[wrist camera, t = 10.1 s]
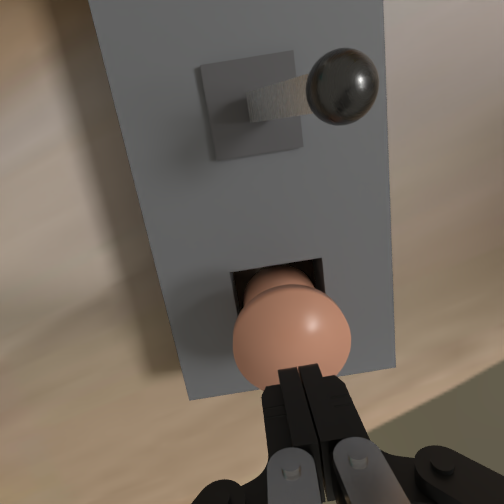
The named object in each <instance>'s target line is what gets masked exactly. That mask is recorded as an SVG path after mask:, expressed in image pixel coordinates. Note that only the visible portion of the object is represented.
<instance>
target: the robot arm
mask: <svg viewBox="0 0 504 504" xmlns="http://www.w3.org/2000/svg"><path fill="white" fill-rule="evenodd" d="M278 377H279V383H280V384H277V385H271V386H266V387H265V390H264V392H263V394H262V397H261V398H262V406H263V414H264V423H265V431H266V439H267V447H268V463H267V465H266V467H265V469H264V471H263V472H262V473H261V474H260V475H259V476H258V477H257V478H255V479H254V480H252V481H250V482H248V483H246V484H244V485H242V486H240V485H239V484H238V483H236V482H234V481H232V480H225V479H224V480H218V481H215V482H212V483H211V484H209V485H207V486H206V487H205V488H204V489H203V490H202V491H201V492H200V494H199V495H198V496H197V497H196V498H195V500H194V501H193V502H192V503H191V504H322V503H323V502H325V494H324V490H325V493H326V497H327V501H334V500H336V503H337V504H504V476H502V475H501V474H498V473H497V472H495V471H492V470H491V469H489V468H487V467H485V466H483V465H481V464H479V463H477V462H475V461H473V460H471V459H469V458H467V457H465V456H463V455H462V454H459V453H458V452H456V451H454V450H452V449H449V448H446V447H442V446H427V447H424V448H422V449H420V450H419V451H418V452H417V454H416V455H415V458H409V457H401V456H394V455H391V454H388V453H385V452H383V451H382V450H380V449H379V448H378V447H377V445H376V444H374V443H373V442H371V440H370V439H369V437H368V435H367V432H366V430H365V428H364V426H363V423H362V421H361V419H360V417H359V415H358V412H357V410H356V408H355V406H354V404H353V401H352V399H351V397H350V395H349V392H348V390H347V388H346V386H345V383H344V382H342V381H341V380H340V379H339V378H338V377H337V376H335V375H331V376H325V377H323V376H322V373H321V371H320V368H319V365H318V363H315V364H309V365H303V366H298V369H297V367H291V368H285V369H279V370H278Z"/></svg>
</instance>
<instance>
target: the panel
mask: <svg viewBox="0 0 504 504" xmlns="http://www.w3.org/2000/svg"><path fill="white" fill-rule="evenodd" d="M88 2H89V6H90V10H91V14H92V18H93V22H94V26H95V30H96V33H97V37H98V41H99V45H100V49H101V53H102V57H103V61H104V65H105V69H106V73H107V77H108V81H109V85H110V89H111V93H112V97H113V101H114V105H115V109H116V112H117V116H118V120H119V124H120V128H121V132H122V136H123V140H124V144H125V148H126V152H127V156H128V160H129V164H130V168H131V172H132V176H133V180H134V184H135V188H136V191H137V195H138V199H139V203H140V207H141V211H142V215H143V219H144V223H145V227H146V231H147V235H148V239H149V243H150V247H151V251H152V255H153V259H154V263H155V267H156V270H157V274H158V278H159V282H160V286H161V290H162V294H163V298H164V302H165V306H166V310H167V314H168V318H169V322H170V326H171V330H172V334H173V338H174V342H175V346H176V349H177V353H178V357H179V361H180V365H181V369H182V373H183V377H184V381H185V385H186V389H187V393H188V397H189V401H190V400H196V399H202V398H208V397H215V396H221V395H227V394H233V393H239V392H246V391H252V390H258V389H259V388H257V387H256V386H254V385H253V384H251V383H250V382H249V381H248V380H247V379H246V378H245V377H244V376H243V375H242V373H241V372H240V370H239V369H238V367H237V365H236V362H235V359H234V354H233V330H234V325H235V322H236V319H237V317H238V315H239V313H240V308H239V302H238V297H237V291H236V286H235V280H234V275H233V272H235V271H241V270H248V269H254V268H260V267H266V266H272V265H279V264H285V263H291V262H297V261H303V260H310V259H313V268H314V277H315V287H316V289H318V290H320V291H322V292H323V293H325V294H327V295H328V296H329V297H330V298H332V300H333V301H334V302H335V303H336V304H337V305H338V307H339V308H340V310H341V312H342V313H343V315H344V317H345V319H346V321H347V323H348V325H349V328H350V333H351V348H350V352H349V356H348V358H347V361H346V363H345V364H344V366H343V368H342V369H341V370H340V372H339V373H338V374H337V375H336V376H337V377H339V376H345V375H351V374H357V373H364V372H370V371H376V370H382V369H389V368H395V367H396V359H395V330H394V301H393V272H392V243H391V214H390V185H389V156H388V127H387V99H386V70H385V41H384V12H383V0H88ZM338 48H353V49H357V50H359V51H361V52H363V53H365V54H366V55H367V56H368V57H369V58H370V59H371V60H372V62H373V63H374V65H375V67H376V69H377V72H378V76H379V90H378V95H377V98H376V100H375V102H374V104H373V106H372V107H371V109H370V110H369V111H368V113H367V114H366V115H365V116H363V117H362V118H361V119H359V120H358V121H356V122H354V123H351V124H348V125H343V126H335V125H330V124H327V123H325V122H323V121H321V120H320V119H318V118H317V117H316V116H315V115H314V114H306V115H299V116H293V117H286V118H279V119H273V120H266V121H260V122H253V123H250V119H249V112H248V105H247V98H246V92H250V91H253V90H256V89H259V88H263V87H266V86H269V85H272V84H276V83H279V82H282V81H285V80H289V79H292V78H295V77H299V76H302V75H305V74H308V73H309V72H310V71H311V69H312V67H313V65H314V64H315V63H316V62H317V61H318V59H319V58H321V57H322V56H323V55H324V54H326V53H328V52H330V51H332V50H335V49H338Z"/></svg>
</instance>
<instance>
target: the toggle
mask: <svg viewBox="0 0 504 504" xmlns="http://www.w3.org/2000/svg"><path fill="white" fill-rule="evenodd" d="M378 90H379V76H378V72H377V69H376V67H375V65H374V63H373V62H372V60H371V59H370V58H369V57H368V56H367V55H366V54H365V53H363V52H361V51H359V50H357V49H353V48H338V49H335V50H332V51H330V52H328V53H326V54H324V55H323V56H322V57H321V58H319V59H318V61H317V62H316V63H315V64H314V65H313V67H312V69H311V71H310V72H309V73H308V74H305V75H302V76H299V77H295V78H292V79H289V80H285V81H282V82H279V83H276V84H272V85H269V86H266V87H263V88H259V89H256V90H253V91H250V92H246V98H247V105H248V112H249V119H250V123H253V122H260V121H266V120H273V119H279V118H286V117H293V116H299V115H306V114H314V115H315V116H316V117H317V118H318V119H320V120H321V121H323V122H325V123H327V124H330V125H335V126H343V125H348V124H351V123H354V122H356V121H358V120H359V119H361V118H362V117H363V116H365V115H366V114H367V113H368V111H369V110H370V109H371V107H372V106H373V104H374V102H375V100H376V98H377V95H378Z"/></svg>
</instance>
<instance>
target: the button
mask: <svg viewBox="0 0 504 504" xmlns="http://www.w3.org/2000/svg"><path fill="white" fill-rule="evenodd" d="M243 301H244V307H243V309H242V310H241V312H240V313H239V315H238V317H237V319H236V322H235V325H234V330H233V354H234V359H235V362H236V365H237V367H238V369H239V370H240V372H241V373H242V375H243V376H244V377H245V378H246V379H247V380H248V381H249V382H250V383H251V384H253V385H254V386H256V387H257V388H259V389H261V390H263V391H264V390H265V387H266V386H271V385H277V384H280V383H279V377H278V370H279V369H285V368H291V367H297V369H298V366H303V365H309V364H315V363H318V365H319V368H320V371H321V373H322V376H323V377H325V376H331V375H335V376H336V375H337V374H338V373H339V372H340V370H341V369H342V368H343V366H344V364H345V363H346V361H347V358H348V356H349V352H350V348H351V333H350V328H349V325H348V323H347V321H346V319H345V317H344V315H343V313H342V312H341V310H340V308H339V307H338V305H337V304H336V303H335V302H334V301H333V300H332V298H330V297H329V296H328V295H327V294H325V293H323V292H322V291H320V290H318V289H315V288H314V286H313V284H312V282H311V280H310V279H309V277H308V276H307V275H306V274H305V273H303V272H302V271H301V270H299V269H297V268H295V267H292V266H288V265H274V266H270V267H267V268H264V269H262V270H261V271H259V272H258V273H256V274H255V275H254V276H253V277H252V278H251V279H250V281H249V282H248V284H247V286H246V288H245V291H244V299H243Z"/></svg>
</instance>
